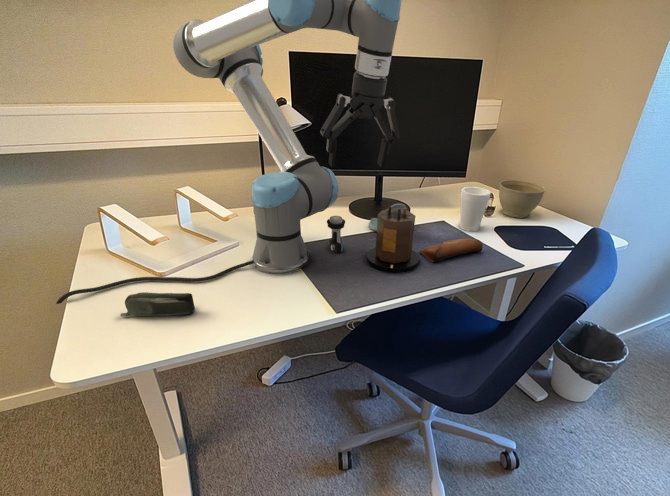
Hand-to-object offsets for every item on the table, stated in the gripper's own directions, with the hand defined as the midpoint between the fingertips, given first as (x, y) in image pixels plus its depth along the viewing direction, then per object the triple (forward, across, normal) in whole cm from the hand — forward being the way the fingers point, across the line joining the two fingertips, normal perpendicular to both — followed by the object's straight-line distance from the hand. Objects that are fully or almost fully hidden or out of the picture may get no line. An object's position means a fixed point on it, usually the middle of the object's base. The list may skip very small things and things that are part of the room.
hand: (356, 165), depth 102 cm
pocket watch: (+28, +18, +11) cm, 35 cm away
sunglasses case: (+22, +30, -12) cm, 39 cm away
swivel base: (+23, +11, -11) cm, 28 cm away
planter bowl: (+24, +74, +10) cm, 78 cm away
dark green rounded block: (+26, -50, -20) cm, 59 cm away
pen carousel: (+22, +11, -11) cm, 27 cm away
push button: (+27, -2, +1) cm, 27 cm away
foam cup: (+24, +48, +4) cm, 54 cm away
